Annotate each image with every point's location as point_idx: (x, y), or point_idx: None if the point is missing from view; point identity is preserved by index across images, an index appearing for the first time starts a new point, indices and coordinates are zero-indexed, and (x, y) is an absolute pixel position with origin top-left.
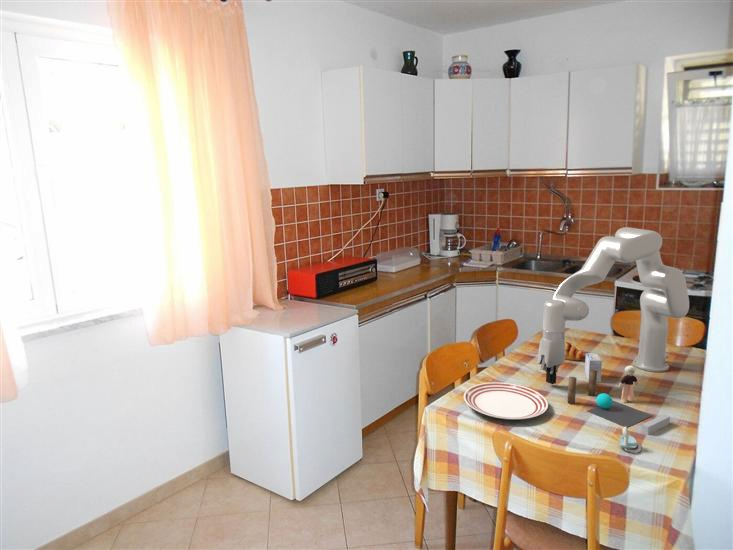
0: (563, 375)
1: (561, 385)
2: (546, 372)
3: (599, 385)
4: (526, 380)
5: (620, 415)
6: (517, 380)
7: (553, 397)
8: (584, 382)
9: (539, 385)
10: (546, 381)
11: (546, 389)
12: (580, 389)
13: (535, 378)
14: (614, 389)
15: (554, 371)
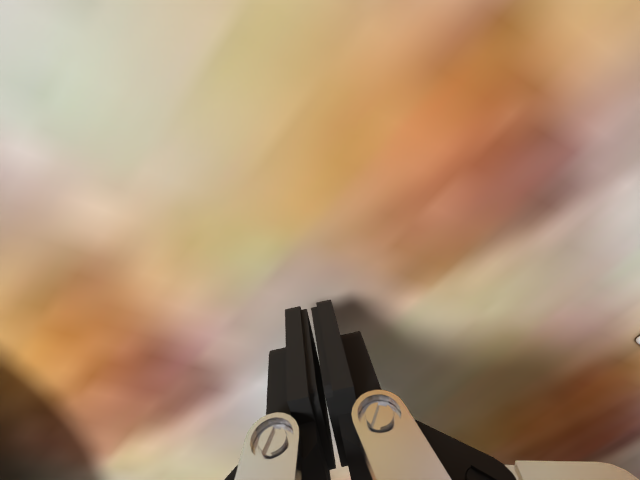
0: (622, 153)
1: (409, 325)
2: (287, 390)
3: (620, 400)
4: (169, 87)
5: None
6: (44, 27)
7: (196, 459)
8: (599, 337)
9: (230, 261)
10: (286, 315)
11: (236, 347)
12: (466, 413)
13: (313, 84)
14: (622, 459)
15: (363, 476)
